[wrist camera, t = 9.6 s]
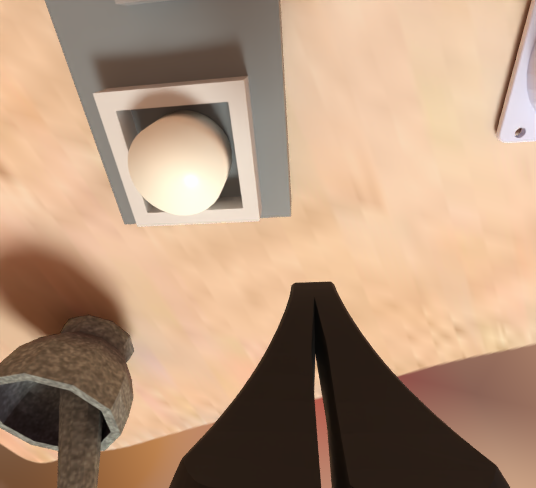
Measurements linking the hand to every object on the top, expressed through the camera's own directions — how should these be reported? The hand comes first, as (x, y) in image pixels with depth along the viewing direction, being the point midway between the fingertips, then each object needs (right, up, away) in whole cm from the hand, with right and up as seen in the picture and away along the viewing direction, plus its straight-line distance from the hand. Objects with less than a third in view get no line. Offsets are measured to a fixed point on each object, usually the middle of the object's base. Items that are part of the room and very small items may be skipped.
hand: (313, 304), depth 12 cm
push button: (-6, +7, +6) cm, 10 cm away
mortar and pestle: (-16, -7, +18) cm, 25 cm away
